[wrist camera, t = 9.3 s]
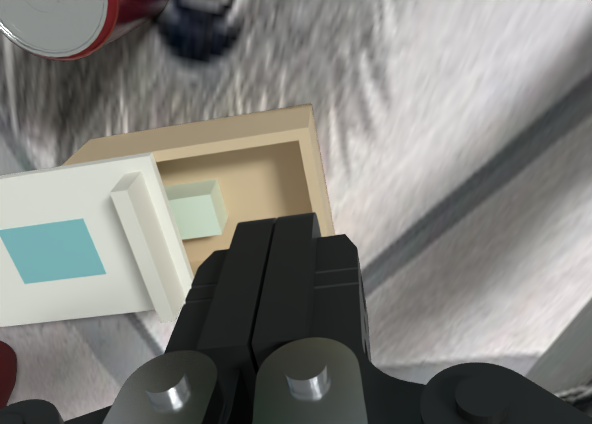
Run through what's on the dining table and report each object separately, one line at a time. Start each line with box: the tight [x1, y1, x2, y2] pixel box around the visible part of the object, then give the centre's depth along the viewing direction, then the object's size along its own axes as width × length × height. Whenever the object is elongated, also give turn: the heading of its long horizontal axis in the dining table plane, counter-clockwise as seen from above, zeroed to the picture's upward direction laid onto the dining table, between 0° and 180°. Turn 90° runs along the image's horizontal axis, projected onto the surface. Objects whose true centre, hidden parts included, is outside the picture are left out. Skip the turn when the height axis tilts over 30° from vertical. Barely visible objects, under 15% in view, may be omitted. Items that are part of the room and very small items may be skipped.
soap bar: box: [164, 179, 228, 240], centre depth 44 cm, size 5×4×3 cm
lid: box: [0, 152, 194, 327], centre depth 41 cm, size 18×13×4 cm
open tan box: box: [62, 104, 335, 277], centre depth 43 cm, size 18×13×5 cm
